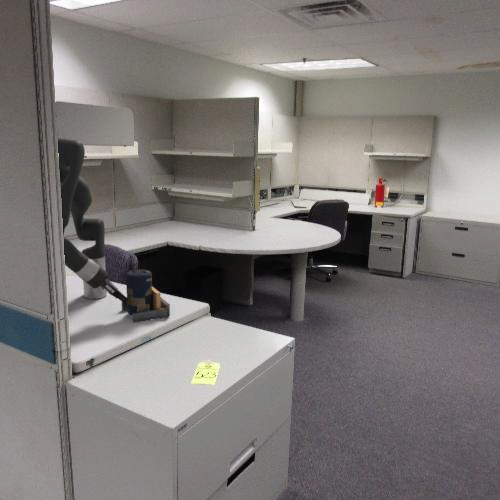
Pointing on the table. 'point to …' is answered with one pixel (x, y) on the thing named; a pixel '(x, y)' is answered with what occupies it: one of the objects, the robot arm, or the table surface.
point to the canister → (139, 291)
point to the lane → (150, 312)
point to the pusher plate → (155, 299)
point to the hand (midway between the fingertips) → (126, 300)
